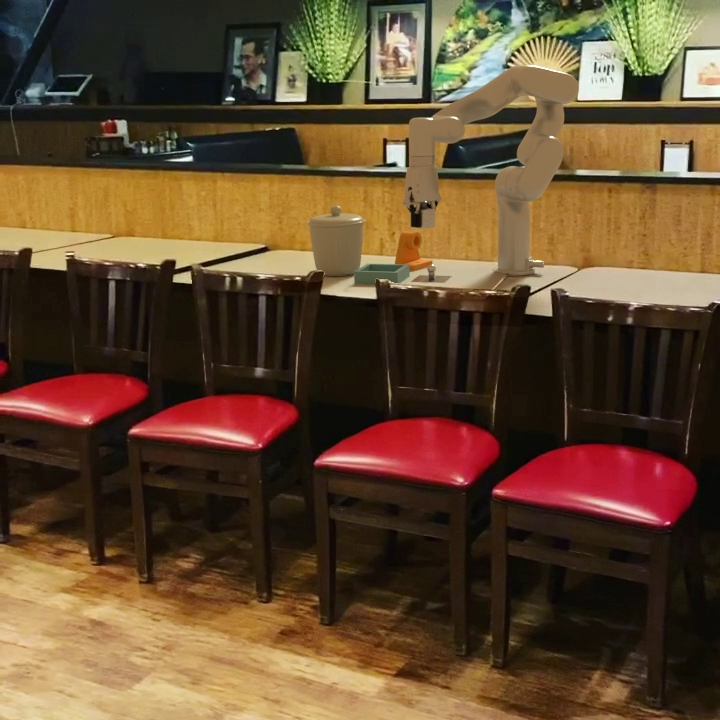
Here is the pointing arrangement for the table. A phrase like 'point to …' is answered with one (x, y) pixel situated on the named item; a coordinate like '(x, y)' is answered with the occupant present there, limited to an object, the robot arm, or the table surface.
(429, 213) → the strut socket
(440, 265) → the table surface
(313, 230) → the canister
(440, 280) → the stud mount
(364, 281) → the bin
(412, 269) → the bracket
